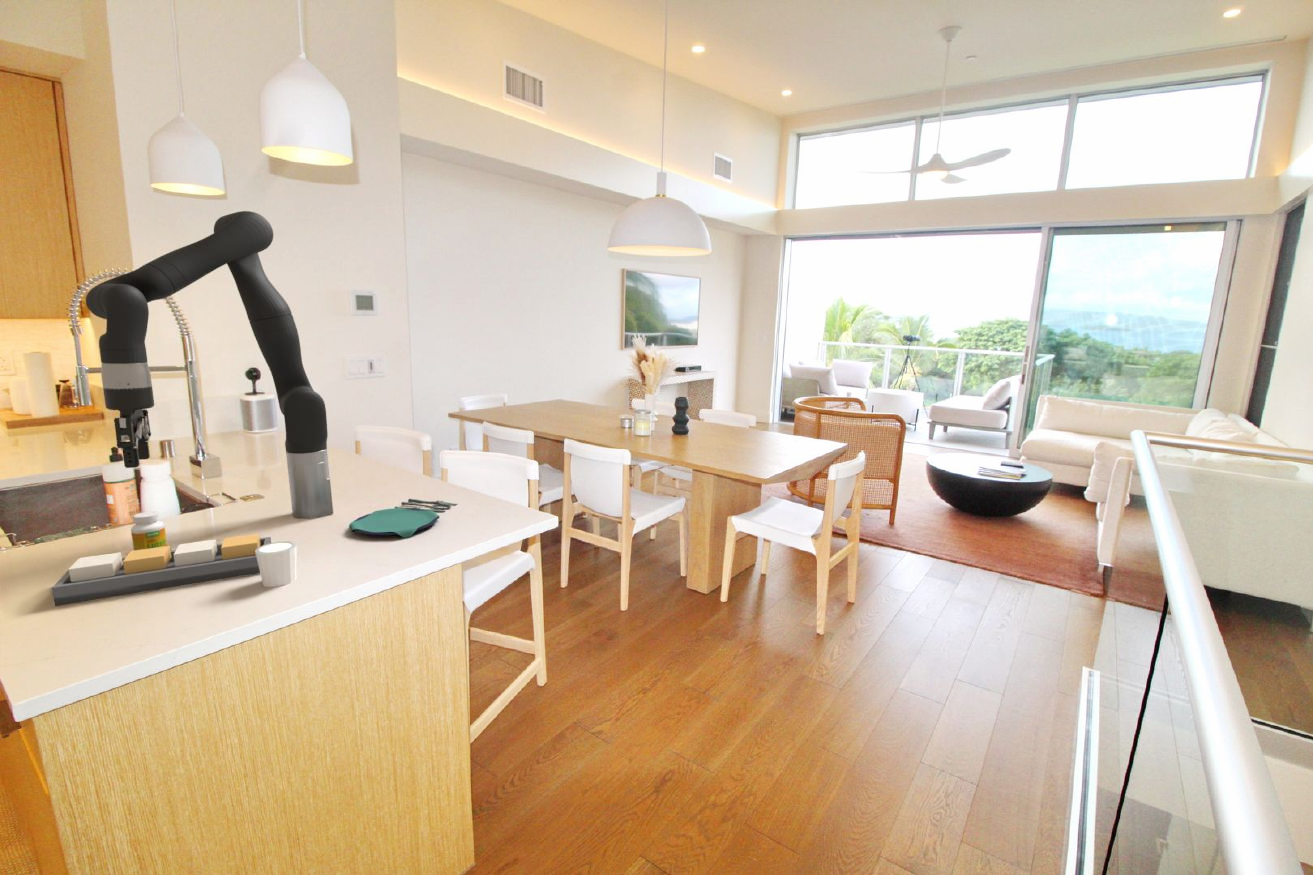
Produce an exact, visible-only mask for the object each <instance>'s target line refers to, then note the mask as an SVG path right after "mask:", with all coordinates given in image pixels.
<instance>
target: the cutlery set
mask: <svg viewBox="0 0 1313 875" xmlns="http://www.w3.org/2000/svg"><path fill="white" fill-rule="evenodd" d="M427 504H431V505H427ZM432 504H433V505H432ZM457 505H458V503H451V502H446V501H443V500H436V501H435V500H433V501H430V500H429V501H427V500H420V499H417V498H416V499H415V498H408V499H407V501H402V502H401V506H402V507H401V506H394V507H393V508H386V509H380V510H375V511H373V512H372V513H367V514H365V515H362V516H359V517H358V518H356V519H355V520H353V521H351V522H350V523H349V525H348V528H349V529H350V530H351V532H352V533H354V532H357V533H360V534H365V535H370V536H393V535H399V536H400V537H402V538H404V539H406V538H410V537H412V535H414V533H415V532H418V531H421V530H423V529H426V528H429V527H430V526H433V525H434V524H435V523H436V522H437V521H438V520H439V519H440V516H439V514H437V513H446V510H448V509H450V508H452V506H454V507H456V506H457ZM403 506H413V507H403ZM417 506H418V507H417ZM421 507H426V508H421Z"/></svg>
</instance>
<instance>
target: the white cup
mask: <svg viewBox="0 0 1313 875" xmlns="http://www.w3.org/2000/svg"><path fill="white" fill-rule="evenodd" d="M297 549H298V548H297V543H296V542H294V541H277V542H271V543H270V544H266V545H263V546H261V547H259V548H257V549H256V550H255V553H256V557H257V561H258V566H259V570H260V573H259V574H260V577H261V582H262V585H263V586H264V587H266V588H277V587H282V586H286V585H288V584H291V583H294V582H295V581H296V580H297V560H298V559H297V558H298V557H297V555H298V554H297Z"/></svg>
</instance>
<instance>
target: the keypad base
mask: <svg viewBox="0 0 1313 875" xmlns="http://www.w3.org/2000/svg"><path fill="white" fill-rule="evenodd" d="M270 543H272V537H271V536H268V537H260V547H261V546H263V545H266V544H270ZM222 544H223V543H218V544H217V543H216V545H217V553H216V556H215V558H214V561H210V562H203V563H196V564H190V565H183V566H176V567H175V561H174V553H175V551H176V549H174V550H171V557H172V558H171V559H170V561H169V563H168V565H167V566H166V568H163V569H156V570H150V571H143V572H136V573H130V574H125V572H124V566H123V565H122V566H121V568H120V569H119V570H118V572H117V573H116V574H115V576H110V577H103V578H96V579H89V580H83V581H76V582H71V579H70V574H69V569H68V570H67V571H66V572H65V573H64V574H63V575H62V576H60V578H59V580H57V581H56V582H55V583H54V585H53V586H51V592H52V597H53V603H54V607H61V606H67V605H71V604H72V605H73V604H78V603H80V604H81V603H84V602H91V601H97V600H103V599H110V598H114V597H115V598H117V597H121V596H122V597H123V596H128V595H134V594H140V593H146V592H152V591H159V590H163V589H164V590H165V589H169V588H177V587H182V586H188V585H195V584H201V583H207V582H214V581H219V580H226V579H232V578H238V577H245V576H249V575H250V576H251V575H257V574H260V570H259V566H258V561H257V557H256V555H250V556H243V557H237V558H230V559H223V558H222V551H221V547H222ZM126 557H127V556H122V562H123V561H124V559H125V558H126Z"/></svg>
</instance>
